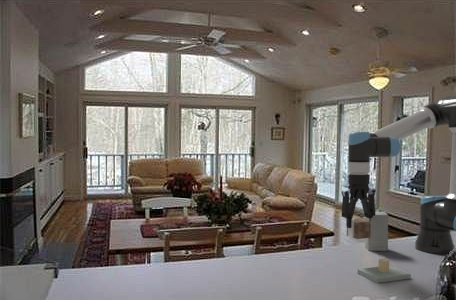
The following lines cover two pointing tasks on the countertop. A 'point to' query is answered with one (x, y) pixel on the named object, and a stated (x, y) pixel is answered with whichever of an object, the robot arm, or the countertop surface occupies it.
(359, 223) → the cardboard shipping box
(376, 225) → the skincare box
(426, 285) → the countertop surface
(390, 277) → the pale green flat panel
